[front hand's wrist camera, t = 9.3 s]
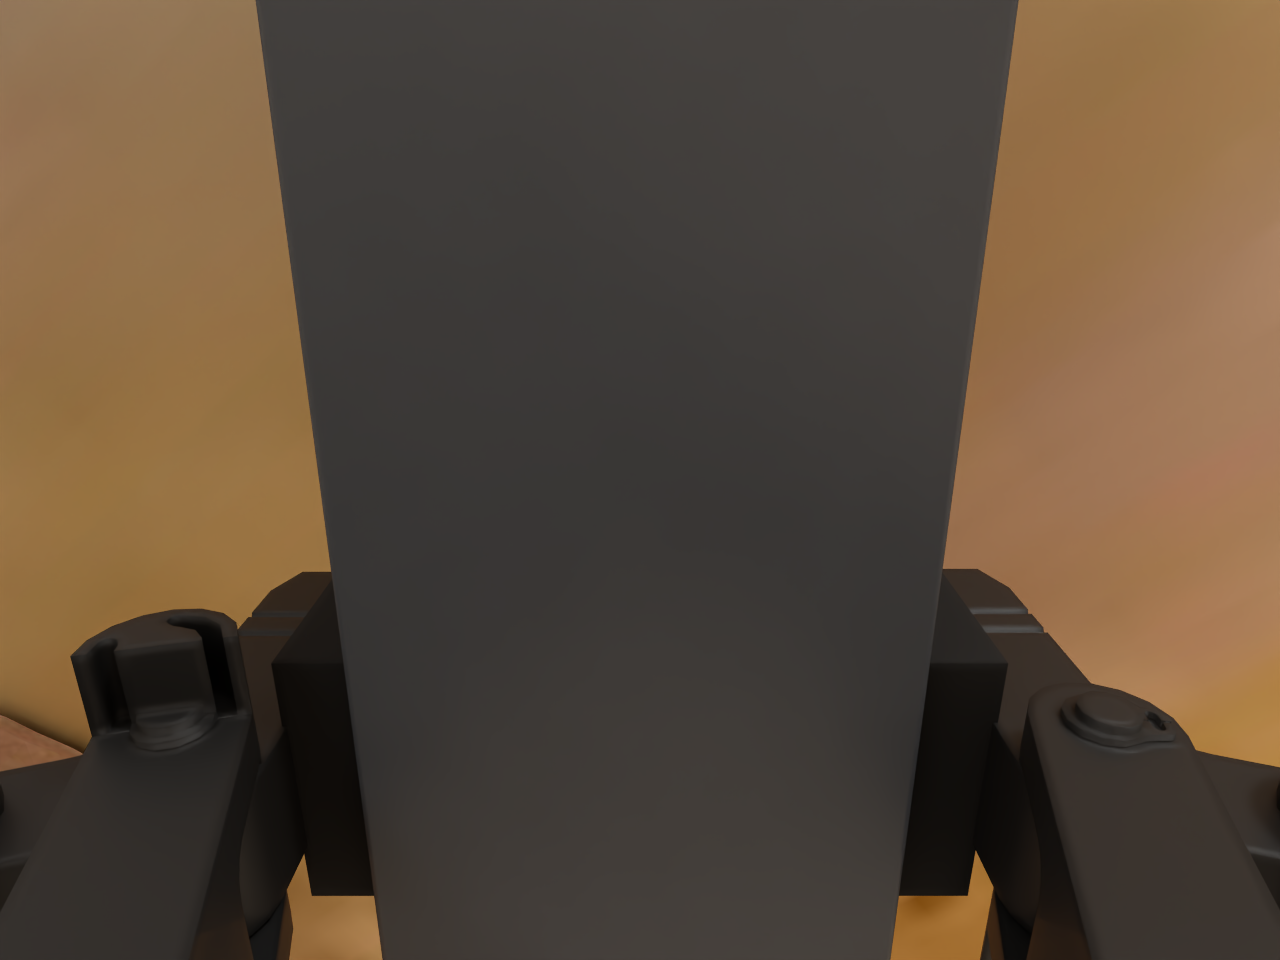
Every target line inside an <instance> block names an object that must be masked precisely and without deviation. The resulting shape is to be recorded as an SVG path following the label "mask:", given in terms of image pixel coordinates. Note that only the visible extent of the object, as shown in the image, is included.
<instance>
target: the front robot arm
mask: <svg viewBox="0 0 1280 960" xmlns="http://www.w3.org/2000/svg"><path fill="white" fill-rule="evenodd" d="M70 657H71V661H72V664H73V668H74V672H75V675H76V679H77V683H78V686H79V690H80V694H81V697H82V701H83V705H84V709H85V712H86V716H87V720H88V723H89V727H90V731H91V734H92V738H91V740H90V742H89V744H88V746H87V748H86V749H85V751H84V753H83V755H79V756H75V757H71V758H67V759H62V760H57V761H52V762H46V763H41V764H36V765H31V766H26V767H21V768H16V769H11V770H5V771H0V960H289V955H290V948H291V940H292V933H293V924H292V917H291V910H290V904H289V899H288V894H287V888H288V886H289V884H290V882H291V880H292V878H293V876H294V873H295V871H296V869H297V867H298V865H299V863H300V861H301V859H302V857H303V855H304V854H305V860H306V865H307V871H308V877H309V882H310V888H311V894H312V896H374V890H373V882H372V875H371V867H370V860H369V852H368V845H367V837H366V830H365V822H364V814H363V807H362V799H361V792H360V784H359V777H358V769H357V761H356V754H355V746H354V739H353V731H352V724H351V716H350V709H349V701H348V693H347V686H346V678H345V671H344V663H343V656H342V648H341V641H340V633H339V625H338V618H337V610H336V603H335V595H334V588H333V580H332V573H331V572H302V573H300V574H298V575H297V576H295V577H293V578H292V579H290V580H288V581H286V582H285V583H283V584H281V585H280V586H278V587H276V588H275V589H273V590H271V591H270V592H269V593H268V595H267V596H266V597H265V598H264V599H263V601H262V602H261V603H260V604H259V605H258V606H257V608H256V609H255V610H254V611H253V612H252V617H248V618H247V619H246V621H245V622H244V623H243V624H242V625H241V626H240V628H239V629H237V624H236V622H235V621H234V620H232V619H231V618H229V617H228V616H227V615H225V614H224V613H220V612H215V611H210V610H205V609H178V610H169V611H164V612H159V613H154V614H148V615H143V616H140V617H137V618H134V619H131V620H129V621H126V622H123V623H120V624H117V625H114V626H112V627H110V628H108V629H106V630H105V631H103V632H101V633H99V634H97V635H96V636H94V637H92V638H90V639H88V640H87V641H86V642H85V643H84V644H83V645H82V646H81V647H79V648H78V649H77V650H76V651H75V652H74V653H73V654H72V655H71V656H70ZM975 850H976V852H977V854H978V856H979V858H980V860H981V862H982V864H983V866H984V868H985V870H986V872H987V874H988V876H989V878H990V880H991V883H992V885H993V887H994V889H993V894H992V899H991V904H990V910H989V915H988V920H987V926H986V931H985V936H984V941H983V947H982V952H981V957H980V960H1280V767H1275V766H1270V765H1264V764H1259V763H1254V762H1249V761H1244V760H1239V759H1233V758H1228V757H1223V756H1218V755H1213V754H1209V753H1205V752H1201V751H1197V750H1195V748H1194V746H1193V744H1192V742H1191V740H1190V738H1189V736H1188V735H1187V734H1186V733H1185V731H1184V730H1183V729H1182V728H1181V727H1180V726H1179V724H1178V723H1177V722H1176V721H1175V720H1174V718H1172V717H1171V716H1169V715H1168V714H1166V713H1165V712H1163V711H1162V710H1160V709H1159V708H1157V707H1156V706H1154V705H1153V704H1151V703H1150V702H1148V701H1145V700H1143V699H1140V698H1138V697H1136V696H1133V695H1131V694H1128V693H1126V692H1123V691H1121V690H1117V689H1113V688H1108V687H1104V686H1100V685H1095V684H1091V683H1090V682H1089V681H1088V679H1087V678H1086V677H1085V676H1084V675H1083V674H1082V672H1081V671H1080V670H1079V669H1078V668H1077V667H1076V665H1075V664H1074V663H1073V662H1072V661H1071V660H1070V658H1069V657H1068V656H1067V655H1066V654H1065V653H1064V651H1063V650H1062V649H1061V648H1060V647H1059V645H1058V644H1057V643H1056V642H1055V641H1054V640H1053V638H1052V637H1051V636H1050V635H1049V634H1048V633H1044V631H1043V627H1042V626H1041V624H1040V623H1039V622H1038V621H1037V620H1036V619H1035V617H1034V616H1033V615H1032V614H1028V609H1027V608H1026V607H1025V606H1024V605H1023V603H1022V602H1021V601H1020V600H1019V599H1018V598H1017V596H1016V595H1015V594H1014V593H1013V592H1012V590H1011V589H1010V588H1009V587H1007V586H1005V585H1004V584H1002V583H1000V582H998V581H997V580H995V579H993V578H992V577H990V576H988V575H987V574H985V573H983V572H981V571H980V570H978V569H942V576H941V584H940V591H939V599H938V606H937V614H936V621H935V629H934V636H933V644H932V651H931V659H930V666H929V674H928V681H927V688H926V696H925V703H924V711H923V718H922V726H921V733H920V741H919V748H918V756H917V763H916V771H915V778H914V786H913V793H912V801H911V808H910V816H909V823H908V831H907V838H906V846H905V853H904V861H903V868H902V876H901V883H900V891H899V896H968V890H969V885H970V879H971V873H972V868H973V862H974V856H975Z"/></svg>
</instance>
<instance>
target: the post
mask: <svg viewBox="0 0 1280 960" xmlns="http://www.w3.org/2000/svg"><path fill="white" fill-rule="evenodd" d="M256 6H257V13H258V21H259V28H260V36H261V44H262V51H263V59H264V66H265V74H266V81H267V89H268V96H269V104H270V112H271V119H272V127H273V134H274V142H275V149H276V157H277V164H278V172H279V180H280V187H281V195H282V202H283V210H284V217H285V225H286V232H287V240H288V248H289V255H290V263H291V270H292V278H293V285H294V293H295V301H296V308H297V316H298V323H299V331H300V338H301V346H302V353H303V361H304V369H305V376H306V384H307V391H308V399H309V406H310V414H311V421H312V429H313V437H314V444H315V452H316V459H317V467H318V474H319V482H320V489H321V497H322V505H323V512H324V520H325V527H326V535H327V542H328V550H329V557H330V565H331V573H332V580H333V588H334V595H335V603H336V610H337V618H338V625H339V633H340V641H341V648H342V656H343V663H344V671H345V678H346V686H347V693H348V701H349V709H350V716H351V724H352V731H353V739H354V746H355V754H356V761H357V769H358V777H359V784H360V792H361V799H362V807H363V814H364V822H365V830H366V837H367V845H368V852H369V860H370V867H371V875H372V882H373V890H374V898H375V905H376V913H377V920H378V928H379V935H380V943H381V950H382V958H383V960H890V958H891V950H892V943H893V935H894V928H895V920H896V913H897V905H898V898H899V891H900V883H901V876H902V868H903V861H904V853H905V846H906V838H907V831H908V823H909V816H910V808H911V801H912V793H913V786H914V778H915V771H916V763H917V756H918V748H919V741H920V733H921V726H922V718H923V711H924V703H925V696H926V688H927V681H928V674H929V666H930V659H931V651H932V644H933V636H934V629H935V621H936V614H937V606H938V599H939V591H940V584H941V576H942V569H943V561H944V554H945V546H946V539H947V531H948V524H949V516H950V509H951V501H952V494H953V486H954V479H955V472H956V464H957V457H958V449H959V442H960V434H961V427H962V419H963V412H964V404H965V397H966V389H967V382H968V374H969V367H970V359H971V352H972V344H973V337H974V329H975V322H976V314H977V307H978V299H979V292H980V284H981V277H982V269H983V262H984V255H985V247H986V240H987V232H988V225H989V217H990V210H991V202H992V195H993V187H994V180H995V172H996V165H997V157H998V150H999V142H1000V135H1001V127H1002V120H1003V112H1004V105H1005V97H1006V90H1007V82H1008V75H1009V67H1010V60H1011V52H1012V45H1013V38H1014V30H1015V23H1016V15H1017V8H1018V0H256Z"/></svg>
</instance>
